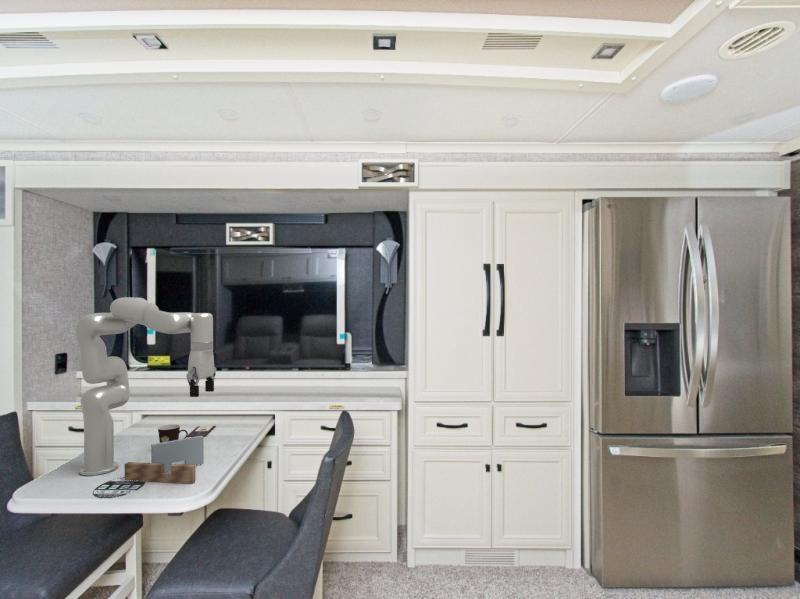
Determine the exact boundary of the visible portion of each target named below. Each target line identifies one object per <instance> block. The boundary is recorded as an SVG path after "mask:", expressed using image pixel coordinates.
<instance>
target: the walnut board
mask: <svg viewBox="0 0 800 599" xmlns="http://www.w3.org/2000/svg"><path fill="white" fill-rule="evenodd" d="M196 467H197V466H195V465H187V464H185V463H184V464H183V463H182V464H181V463H173V464H172V466H171V472H164V464H163V463H151V462H139V461H138V462H135V461H128V462H126V463H124V481H125V480H131V481H130V482H141V481H148V482H147V483H164V484H165V483H166V484H185V485H188V484H189V485H193V484H195V483H196V482H195V481H196V480H197V479H196V478H197V476H196ZM132 480H133V481H132ZM134 480H135V481H134ZM136 480H138V481H136Z"/></svg>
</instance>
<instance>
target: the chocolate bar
mask: <svg viewBox="0 0 800 599" xmlns="http://www.w3.org/2000/svg"><path fill="white" fill-rule="evenodd" d="M216 427H217V426H216V425H205V426H203V425H201V426H200V425H199V426H196V427H195V428H194V429H193V430H191V431H190V432H189V433H188V436H187V437H196V436H203V438H206V437H207V436H208V435H209V434H210V433H211V432H212V431H213V430H215V428H216Z"/></svg>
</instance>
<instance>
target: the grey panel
mask: <svg viewBox="0 0 800 599" xmlns="http://www.w3.org/2000/svg"><path fill="white" fill-rule="evenodd" d="M184 438H185V437H184ZM184 438H181V439H178V440H173V441H167V442H162V443H160V442H156V443H151V447H150V449H151V453H150V454H151V462H150V463H163V464H164V472H170V471H171V466H172V465H173V464H177V463H181V462H184V464H187V465H199V464H204V437H203V436H196V437H191V438H185V439H184ZM199 466H200V465H199Z"/></svg>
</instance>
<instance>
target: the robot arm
mask: <svg viewBox="0 0 800 599" xmlns="http://www.w3.org/2000/svg"><path fill="white" fill-rule="evenodd" d="M109 310H110V311H109V312H94V313H90V314H87V315H84V316H83V317H81V318H80V319H79V320H78V322H77V323H76V326H75V336H76V337H75V338H76V340H77V341H76V342H77V344H78V348H79V355H80V356H79V357H80V365H81V366H80V367H81V372H82V378H83V381H84V382H85V383H86V384H89V385H96V384H101V383H105V382H106V385H100V386H96V387H92V388H90V389H88V390H86V391H85V392H84V393H83V394H82V395H81V397H80V407H81V411H82V416H83V447H84V448H83V461H84V462H83V465H84V466H82V467H81V468H79V470H78V474H79V475H82V476H98V475H103V474H106V473H110V472H113V471H114V470H117V469H118V468H119V463H118V462H117V461H115V459H114V453H115V452H114V451H115V450H114V447H115V446H114V443H115V442H114V440H115V439H114V438H115V437H114V432H115V430H114V428H115V427H114V424H115V423H114V419H113V416H112V415H111V413H110V411H109V410H112V409H117V408H120V407H123V406H124V405H125V404H127V403H128V401H129V399H130V396H131V395H130V393H131V392H130V384H129V374H128V367H127V365H126V363H125V361H124V359H122V358H121V357H119V356H113V355H111V356H108V353H107V346H106V344H105V342H104V339H102V338H101V337H100V336H105V335H107V336H109V335H115V334H116V335H118V334H119V335H120V334H123V333H125V332H127V331H129V330H130V329H132V328H133V327H135V326H137V325H143V326H145V327H146V328H147V329H149V330H151V331H155V332H158V333H162V334H168V335H170V334H171V335H176V334H187V333H190V351H189V356H188V363H187V373H186V379H187V380H186V381H187V383H188V386H189V397H190V398H199V396H200V385H199V383H200V380H203V379H206V380H205V381H204V386H205V387H204V388H205V389H204V391H205V392H206V393H207V392H210V393H211V392H214V391H215V379H216V378H215V377H216V373H217V367H216V366H215V359H214V357H215V356H214V352H213V351H214V317H213V316H214V315H213V314H212V313H210V312H196V313H195V312H168V311H163V310H160V308H159V307H158V306H157V305H156V304H155V303H152V302H149V301H148V300H146V299H145V298H143V297H132V296H129V297H126V296H125V297H119V298H116V299H114V300H113V301H112V302H111V304H110V306H109Z"/></svg>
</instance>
